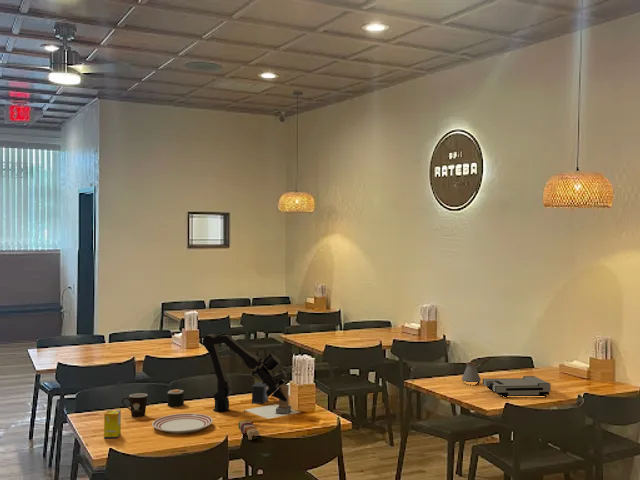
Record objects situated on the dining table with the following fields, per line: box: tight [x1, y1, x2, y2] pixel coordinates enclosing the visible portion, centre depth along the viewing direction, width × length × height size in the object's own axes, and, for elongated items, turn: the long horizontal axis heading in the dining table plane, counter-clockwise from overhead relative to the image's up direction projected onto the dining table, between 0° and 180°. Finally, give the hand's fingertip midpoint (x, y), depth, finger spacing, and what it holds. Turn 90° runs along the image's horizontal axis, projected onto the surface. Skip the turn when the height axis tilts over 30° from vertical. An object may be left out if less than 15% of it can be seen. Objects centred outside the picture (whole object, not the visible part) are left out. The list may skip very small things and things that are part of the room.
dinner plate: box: [151, 412, 214, 434], centre depth 297 cm, size 27×27×3 cm
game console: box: [482, 375, 552, 397], centre depth 373 cm, size 21×32×8 cm, turn 97°
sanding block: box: [276, 383, 292, 414], centre depth 322 cm, size 8×6×13 cm
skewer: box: [237, 420, 260, 441], centre depth 288 cm, size 21×6×5 cm, turn 20°
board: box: [243, 403, 301, 420], centre depth 323 cm, size 20×21×1 cm
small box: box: [251, 381, 269, 405], centre depth 344 cm, size 11×6×10 cm, turn 168°
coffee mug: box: [121, 392, 148, 418], centre depth 317 cm, size 12×9×10 cm
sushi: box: [167, 388, 185, 408], centre depth 338 cm, size 8×8×8 cm
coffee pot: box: [461, 357, 493, 383], centre depth 400 cm, size 21×12×15 cm, turn 115°
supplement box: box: [103, 409, 122, 440], centre depth 282 cm, size 6×6×11 cm
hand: (287, 399), depth 322 cm, fingers closed on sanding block, 4 cm apart
